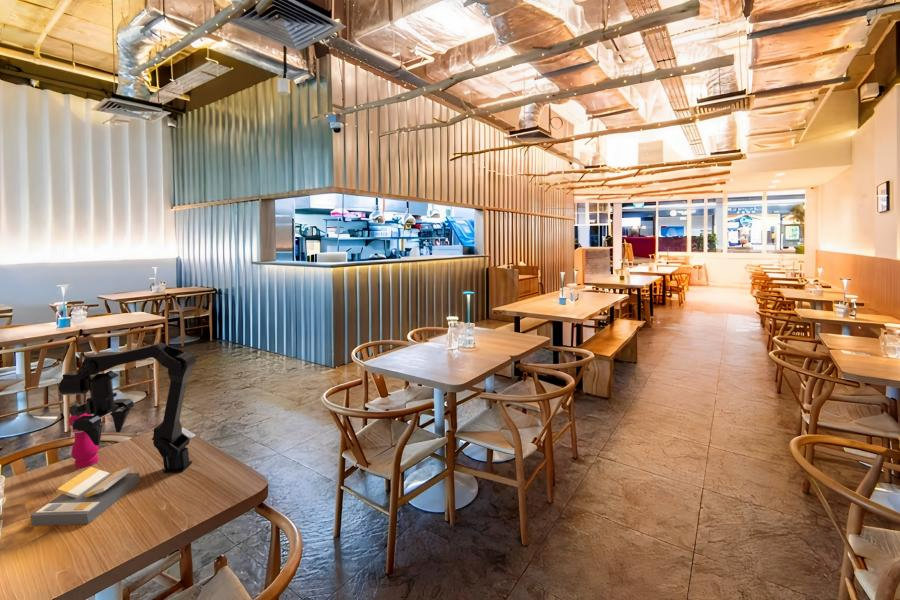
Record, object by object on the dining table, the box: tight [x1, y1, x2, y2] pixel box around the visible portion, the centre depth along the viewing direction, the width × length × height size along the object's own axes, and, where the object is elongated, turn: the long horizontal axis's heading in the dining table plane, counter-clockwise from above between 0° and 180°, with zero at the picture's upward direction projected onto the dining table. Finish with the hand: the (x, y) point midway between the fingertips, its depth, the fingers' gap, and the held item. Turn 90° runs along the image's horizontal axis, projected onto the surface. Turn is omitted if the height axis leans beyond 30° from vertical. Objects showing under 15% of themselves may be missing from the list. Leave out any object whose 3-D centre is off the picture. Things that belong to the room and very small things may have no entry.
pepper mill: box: [68, 413, 100, 469], centre depth 149 cm, size 7×7×20 cm
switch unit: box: [30, 472, 141, 527], centre depth 127 cm, size 15×20×4 cm
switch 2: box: [84, 465, 135, 498], centre depth 130 cm, size 6×12×1 cm, turn 179°
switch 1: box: [56, 466, 111, 498], centre depth 130 cm, size 6×12×1 cm, turn 3°
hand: (108, 438), depth 142 cm, fingers open, 9 cm apart
